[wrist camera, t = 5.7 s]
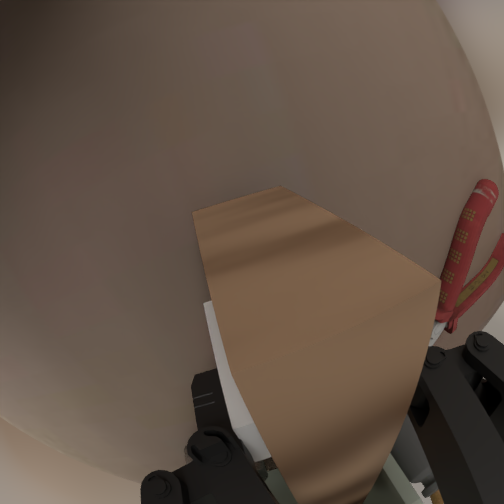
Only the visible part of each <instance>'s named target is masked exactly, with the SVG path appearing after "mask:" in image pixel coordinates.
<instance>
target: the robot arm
mask: <svg viewBox="0 0 504 504" xmlns="http://www.w3.org/2000/svg"><path fill="white" fill-rule="evenodd" d="M203 304H204V309H205V314H206V319H207V324H208V329H209V333H210V338H211V343H212V347H213V352H214V356H215V360H216V365H217V368H216V369H213V370H210V371H206V372H203V373H199V374H196V375H195V376H194V379H193V382H192V385H191V389H192V396H193V403H194V407H195V416H196V422H197V428H198V431H197V432H195V433H194V434H193V435H192V436H191V437H190V439H189V441H188V444H187V453H188V455H189V456H190V457H191V458H192V459H193V460H192V461H191V462H190V463H188V464H187V465H185V466H183V467H181V468H179V469H177V470H175V471H173V472H168V471H165V470H157V471H154V472H151V473H150V474H148V475H147V476H146V477H145V478H144V480H143V481H142V484H141V504H279V502H278V501H277V499H276V498H275V496H274V495H273V494H272V492H271V491H270V489H269V488H268V486H267V485H266V483H265V482H264V480H263V479H262V477H261V475H260V474H259V473H258V471H257V470H256V467H255V464H254V461H255V462H257V461H260V460H264V459H267V458H270V457H272V456H271V454H270V453H269V451H268V449H267V447H266V445H265V443H264V441H263V439H262V437H261V435H260V433H259V431H258V429H257V427H256V425H255V423H254V421H253V419H252V417H251V415H250V413H249V411H248V409H247V407H246V405H245V403H244V401H243V398H242V396H241V394H240V392H239V390H238V388H237V386H236V383H235V381H234V379H233V377H232V375H231V372H230V368H229V365H228V361H227V357H226V354H225V350H224V346H223V343H222V339H221V335H220V331H219V328H218V324H217V320H216V316H215V312H214V308H213V304H212V300H211V301H208V302H205V303H203ZM483 377H484V378H485V379H483ZM407 415H408V416H409V418H410V421H411V423H412V425H413V427H414V430H415V432H416V434H417V437H418V439H419V441H420V444H421V446H422V448H423V451H424V453H425V455H426V458H427V460H428V463H429V465H430V468H431V470H432V473H433V475H434V478H435V481H436V483H437V486H438V489H439V491H440V494H441V497H442V500H443V502H444V504H504V345H503V344H502V343H501V342H499V341H498V340H497V339H496V338H494V337H493V336H492V335H490V334H488V333H487V332H482V331H477V332H474V333H472V334H470V335H469V337H468V338H467V340H466V343H465V345H462V346H459V347H456V348H453V349H449V350H444V349H442V348H440V347H436V346H430V347H429V346H428V350H427V354H426V357H425V361H424V364H423V368H422V371H421V374H420V378H419V381H418V384H417V387H416V390H415V393H414V396H413V398H412V401H411V404H410V407H409V409H408V412H407Z"/></svg>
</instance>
